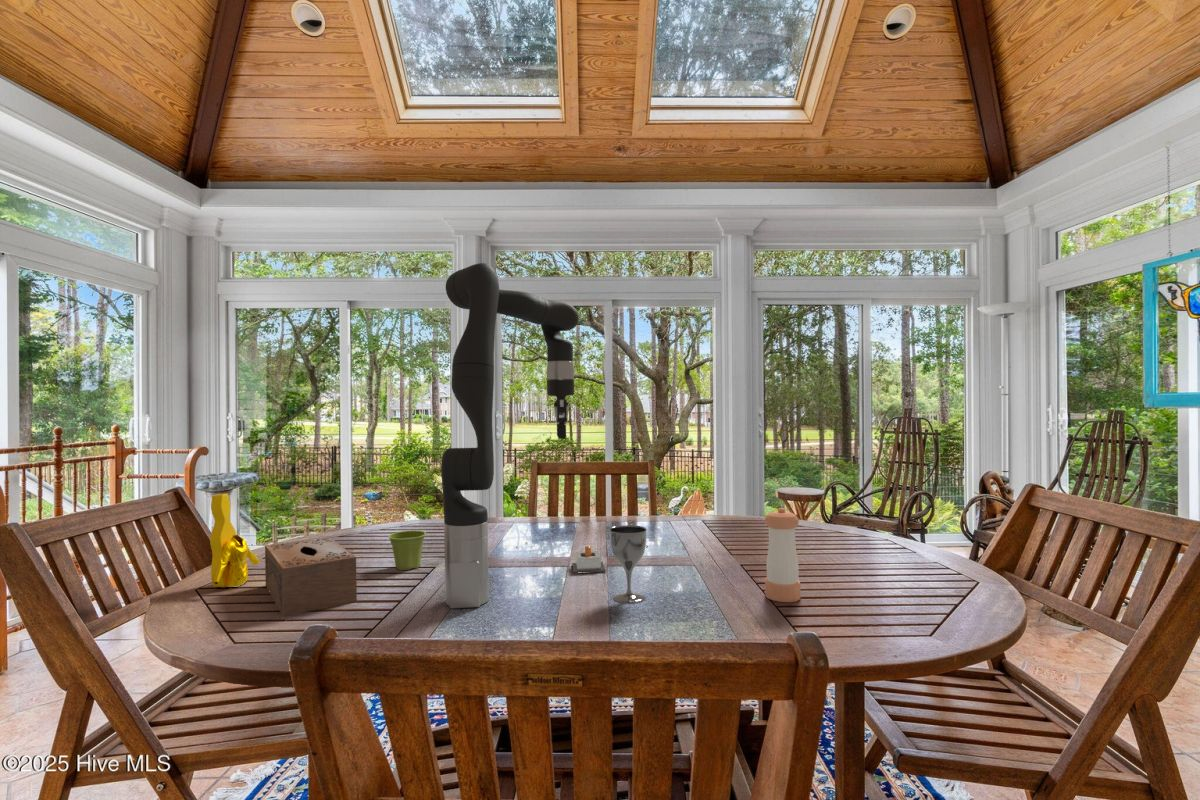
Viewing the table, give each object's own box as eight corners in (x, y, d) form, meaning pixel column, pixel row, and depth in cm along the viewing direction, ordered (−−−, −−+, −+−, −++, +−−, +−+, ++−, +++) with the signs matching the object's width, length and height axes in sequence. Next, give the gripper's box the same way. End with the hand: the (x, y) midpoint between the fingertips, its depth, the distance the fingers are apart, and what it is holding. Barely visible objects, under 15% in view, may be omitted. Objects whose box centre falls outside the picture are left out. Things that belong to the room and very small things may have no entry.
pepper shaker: (758, 593, 132) (757, 506, 132) (785, 589, 135) (784, 504, 135) (779, 604, 125) (778, 512, 125) (807, 599, 128) (806, 509, 128)
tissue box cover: (356, 602, 131) (356, 557, 131) (283, 617, 123) (282, 568, 123) (330, 576, 152) (329, 536, 152) (265, 587, 144) (265, 545, 144)
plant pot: (420, 572, 153) (419, 538, 153) (383, 572, 154) (383, 538, 154) (431, 562, 163) (430, 530, 163) (396, 562, 163) (396, 530, 163)
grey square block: (601, 569, 151) (600, 557, 151) (577, 570, 151) (577, 558, 151) (598, 562, 157) (598, 551, 157) (575, 563, 157) (575, 552, 157)
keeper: (605, 572, 150) (605, 550, 150) (573, 573, 149) (573, 551, 149) (602, 563, 158) (602, 542, 158) (572, 565, 157) (571, 543, 157)
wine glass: (617, 605, 126) (615, 534, 126) (606, 594, 133) (605, 526, 133) (652, 601, 128) (651, 531, 128) (640, 590, 136) (639, 524, 136)
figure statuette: (225, 597, 136) (223, 499, 136) (189, 597, 136) (188, 500, 136) (266, 574, 154) (265, 488, 154) (235, 575, 154) (234, 489, 154)
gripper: (546, 379, 171) (547, 436, 171) (547, 377, 157) (548, 439, 157) (572, 379, 172) (573, 435, 172) (575, 377, 158) (576, 439, 158)
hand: (561, 437), depth 164 cm, fingers open, 8 cm apart
